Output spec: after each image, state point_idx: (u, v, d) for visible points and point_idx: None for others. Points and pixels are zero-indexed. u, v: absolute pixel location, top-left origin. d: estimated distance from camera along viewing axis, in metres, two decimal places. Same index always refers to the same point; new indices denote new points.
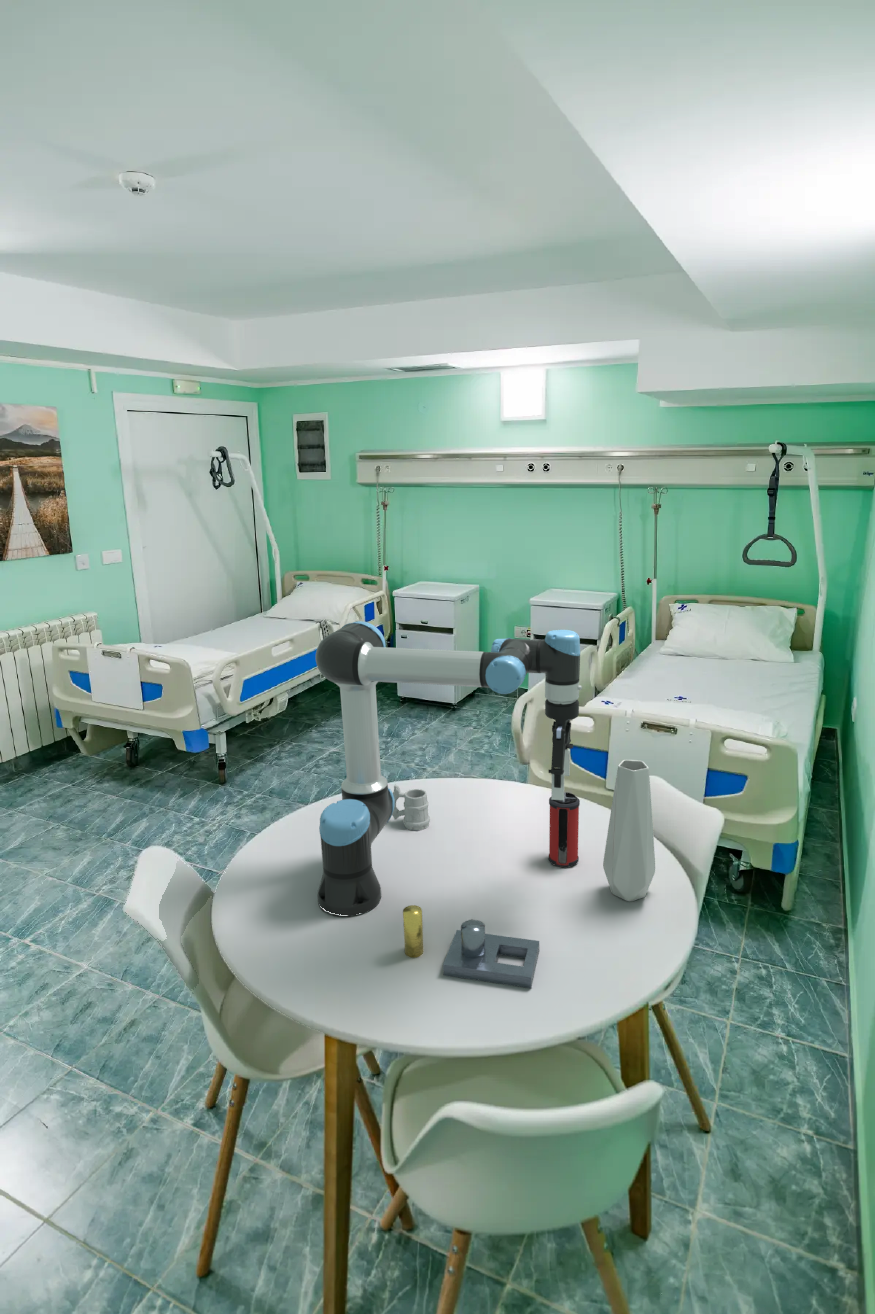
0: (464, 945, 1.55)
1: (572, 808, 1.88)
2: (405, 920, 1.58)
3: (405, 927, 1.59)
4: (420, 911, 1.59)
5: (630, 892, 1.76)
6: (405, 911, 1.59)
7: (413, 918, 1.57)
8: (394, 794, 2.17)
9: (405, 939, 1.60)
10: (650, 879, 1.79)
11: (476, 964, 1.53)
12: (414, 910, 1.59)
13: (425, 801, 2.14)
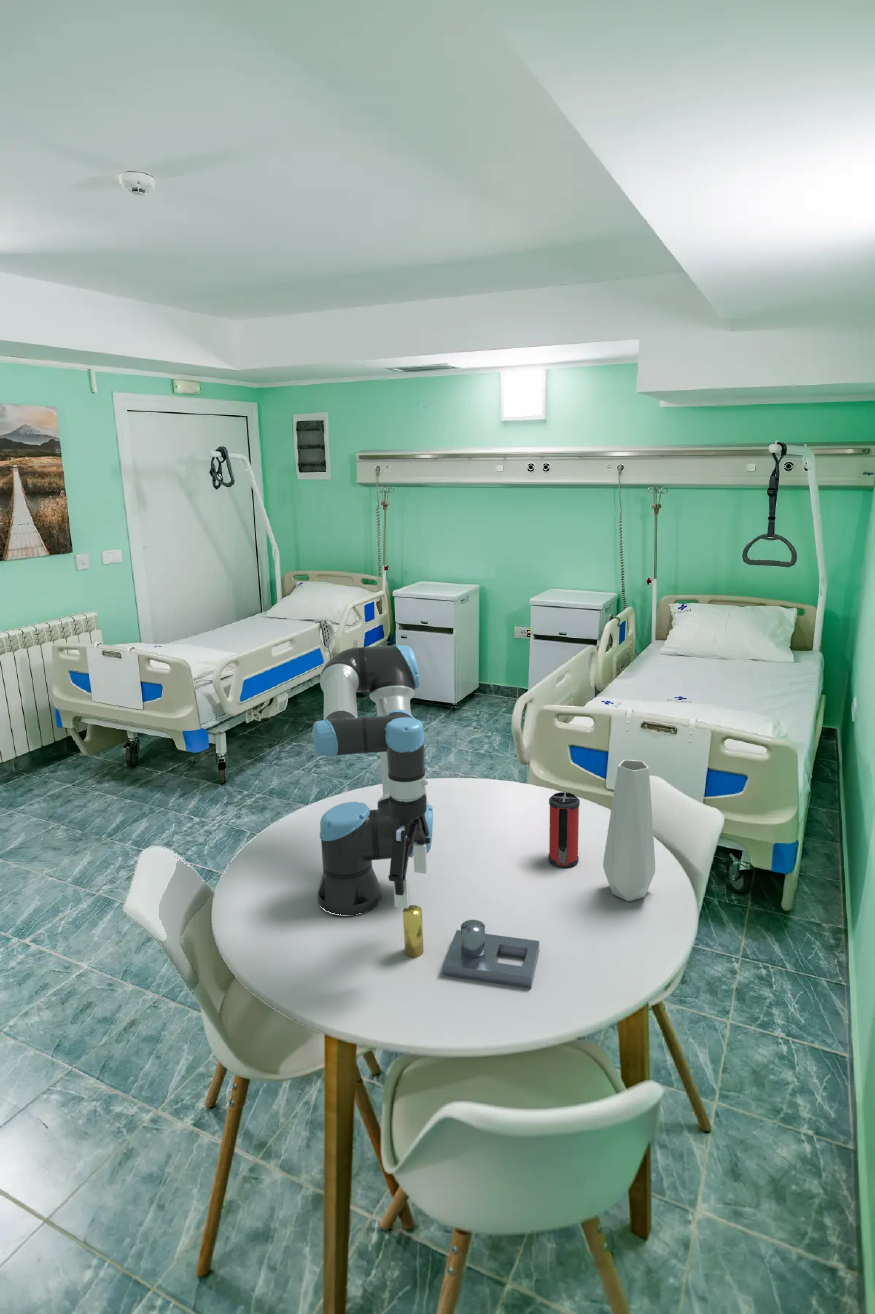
0: (464, 945, 1.55)
1: (572, 808, 1.88)
2: (405, 920, 1.58)
3: (405, 927, 1.59)
4: (420, 911, 1.59)
5: (630, 892, 1.76)
6: (405, 911, 1.59)
7: (413, 918, 1.57)
8: None
9: (405, 939, 1.60)
10: (650, 879, 1.79)
11: (476, 964, 1.53)
12: (414, 910, 1.59)
13: None
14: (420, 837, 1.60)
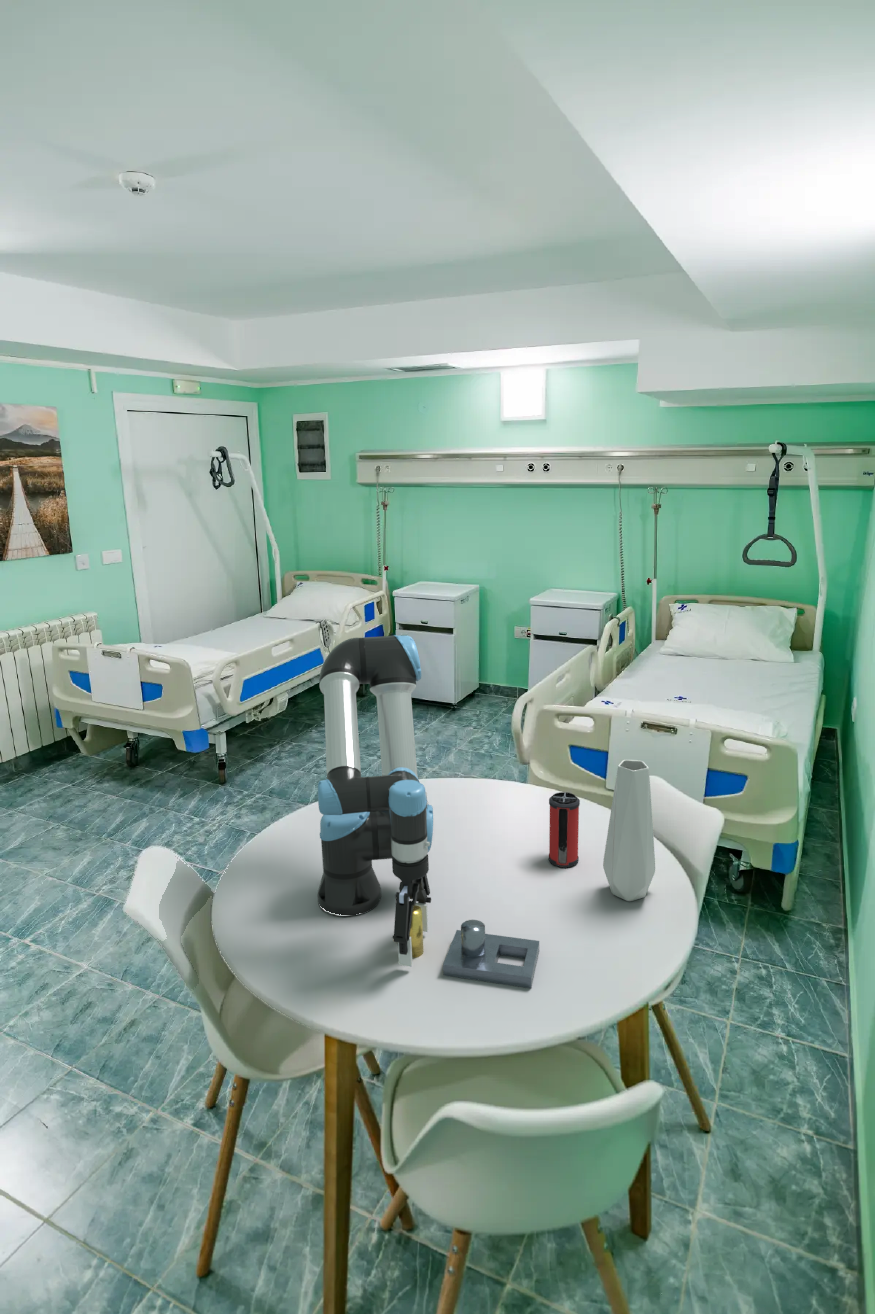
0: (464, 945, 1.55)
1: (572, 808, 1.88)
2: None
3: None
4: (420, 911, 1.59)
5: (630, 892, 1.76)
6: None
7: (413, 918, 1.57)
8: None
9: None
10: (650, 879, 1.79)
11: (476, 964, 1.53)
12: (414, 910, 1.59)
13: None
14: (421, 896, 1.63)
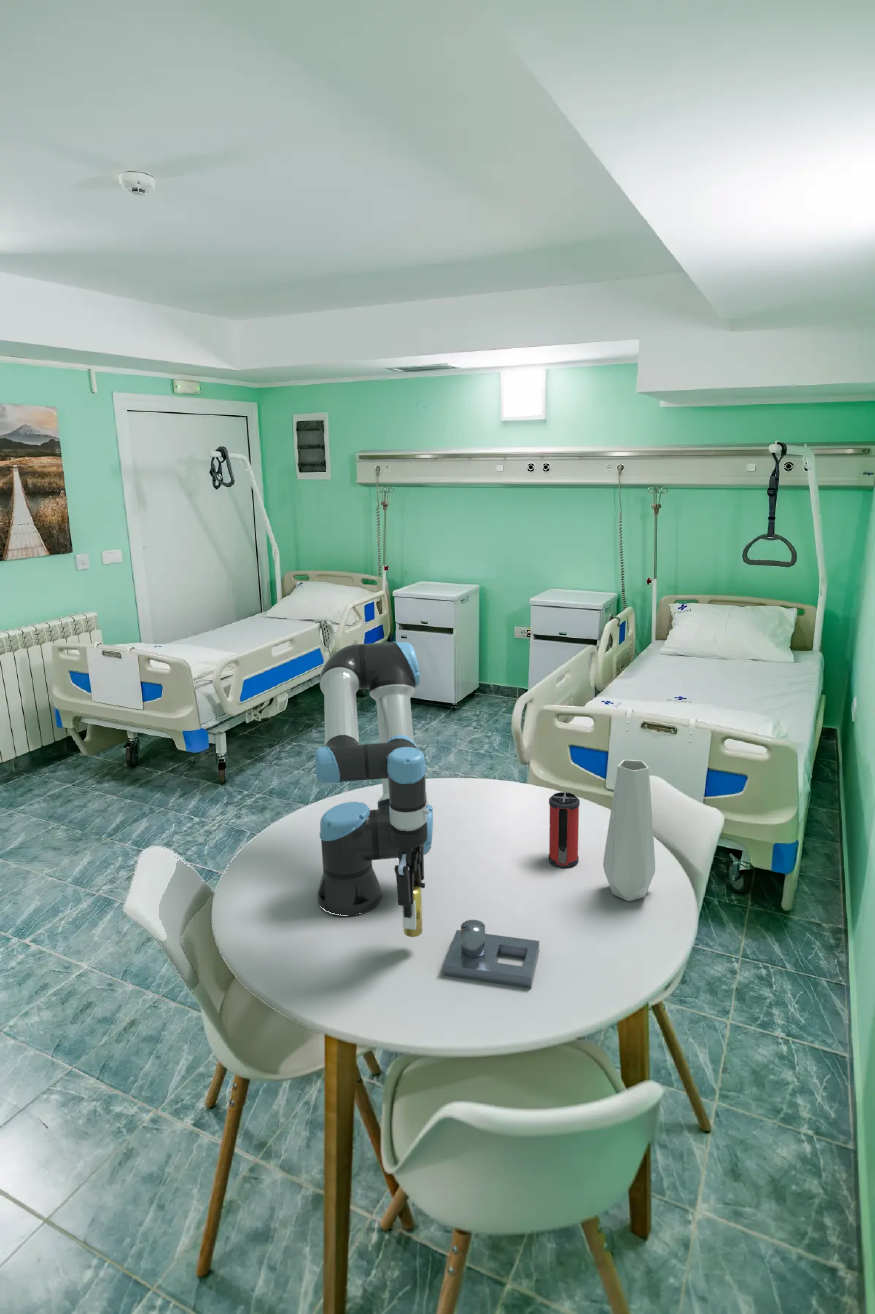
0: (464, 945, 1.55)
1: (572, 808, 1.88)
2: None
3: None
4: (419, 891, 1.58)
5: (630, 892, 1.76)
6: None
7: None
8: None
9: None
10: (650, 879, 1.79)
11: (476, 964, 1.53)
12: None
13: None
14: (416, 875, 1.59)
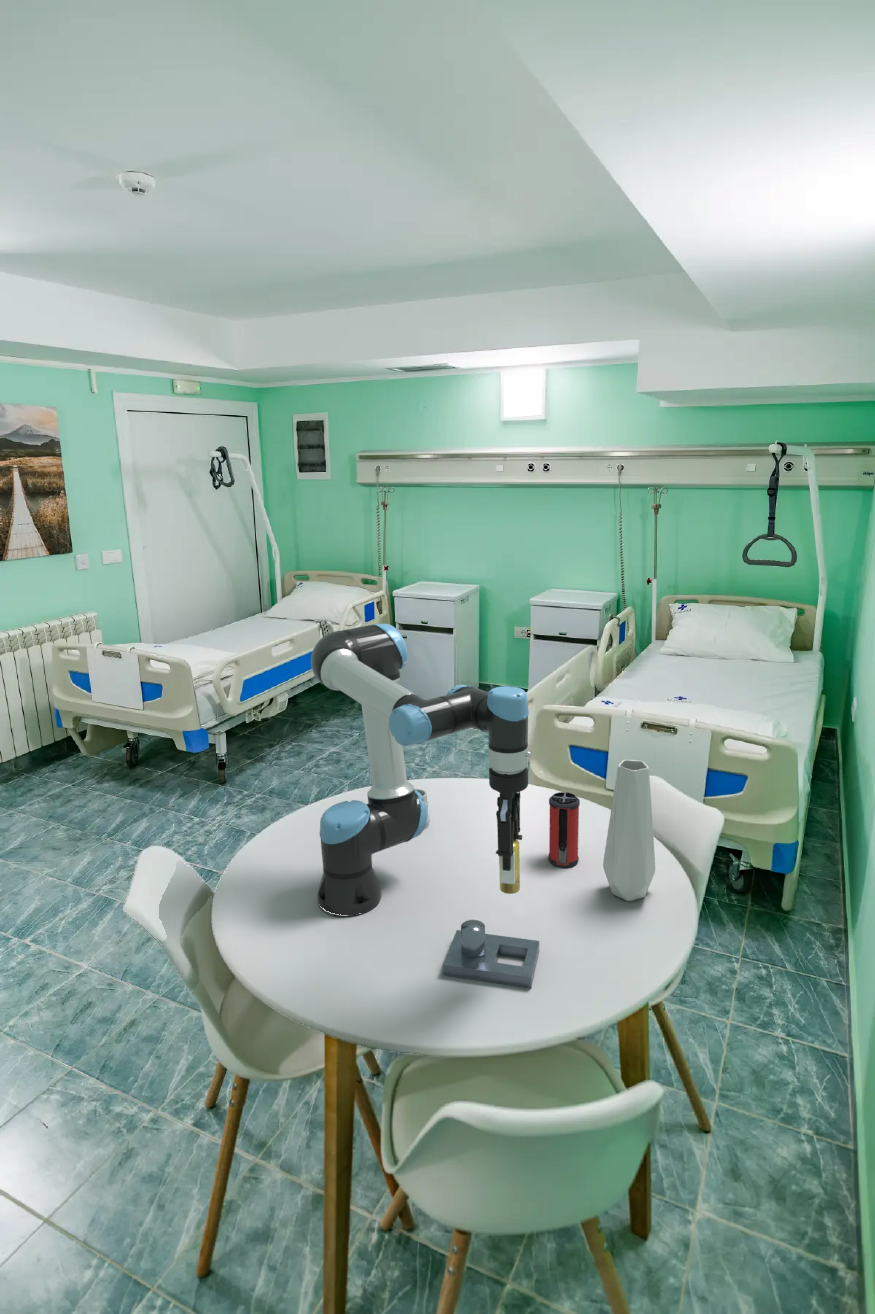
0: (464, 945, 1.55)
1: (572, 808, 1.89)
2: None
3: None
4: (517, 843, 1.49)
5: (630, 892, 1.76)
6: None
7: None
8: None
9: None
10: (650, 879, 1.79)
11: (476, 964, 1.53)
12: None
13: (425, 801, 2.14)
14: (514, 826, 1.50)
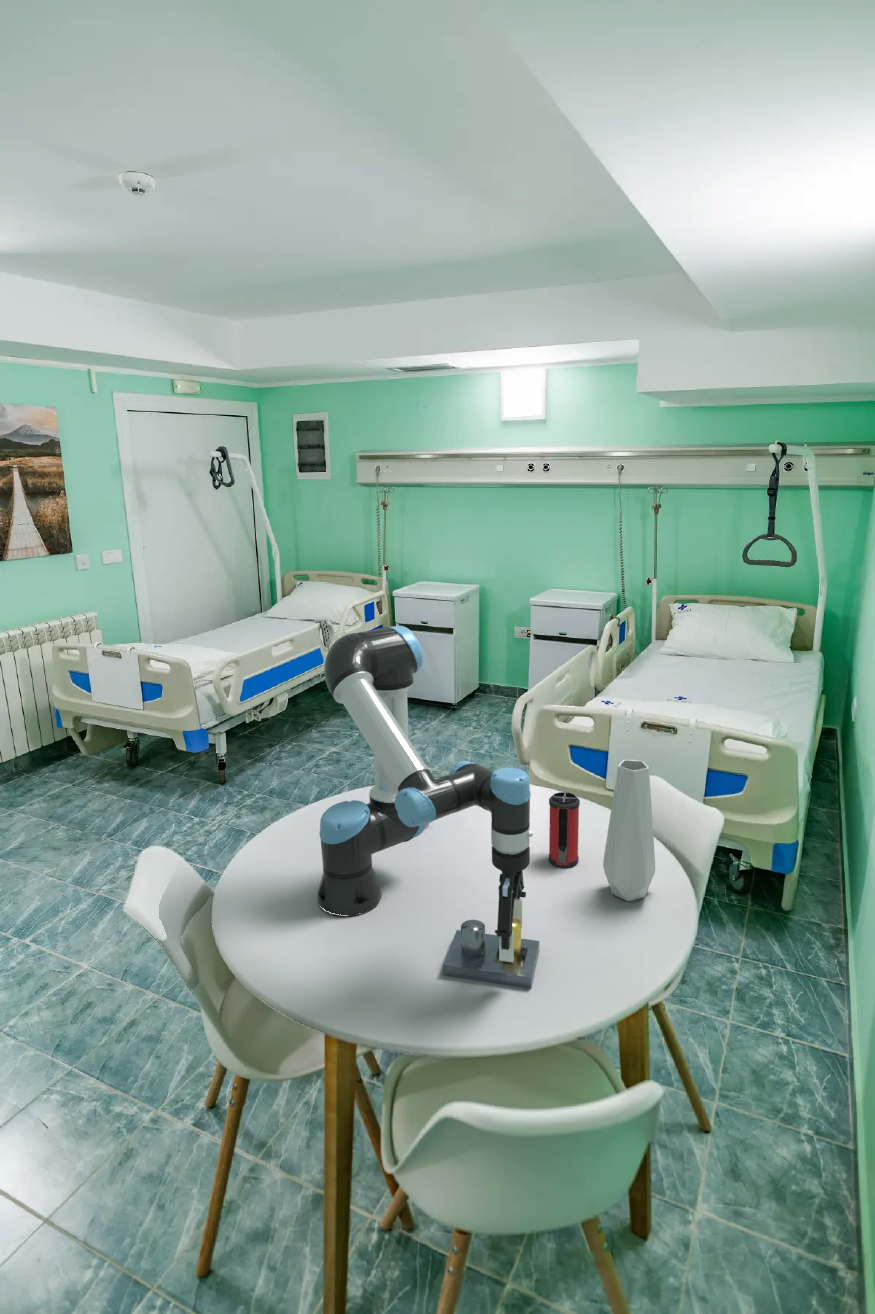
0: (464, 945, 1.55)
1: (572, 808, 1.88)
2: None
3: None
4: (519, 924, 1.53)
5: (630, 892, 1.76)
6: None
7: (513, 931, 1.52)
8: None
9: None
10: (650, 879, 1.79)
11: (476, 964, 1.53)
12: (513, 922, 1.54)
13: None
14: (517, 890, 1.56)
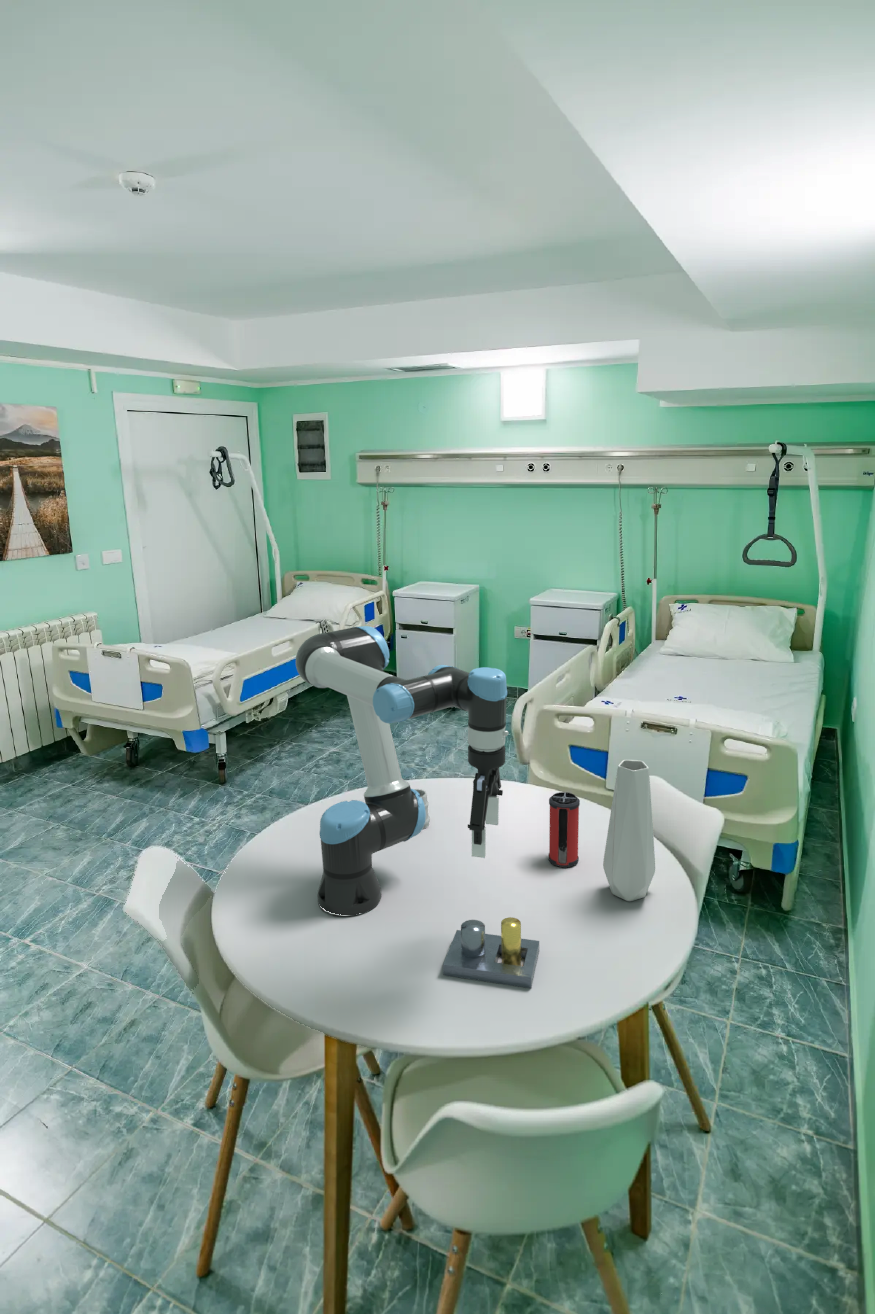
0: (464, 945, 1.55)
1: (572, 808, 1.88)
2: (504, 933, 1.53)
3: (503, 940, 1.53)
4: (519, 924, 1.53)
5: (630, 892, 1.76)
6: (503, 924, 1.53)
7: (513, 931, 1.52)
8: None
9: (503, 952, 1.54)
10: (650, 879, 1.79)
11: (476, 964, 1.53)
12: (513, 922, 1.54)
13: (425, 801, 2.14)
14: (494, 788, 1.59)
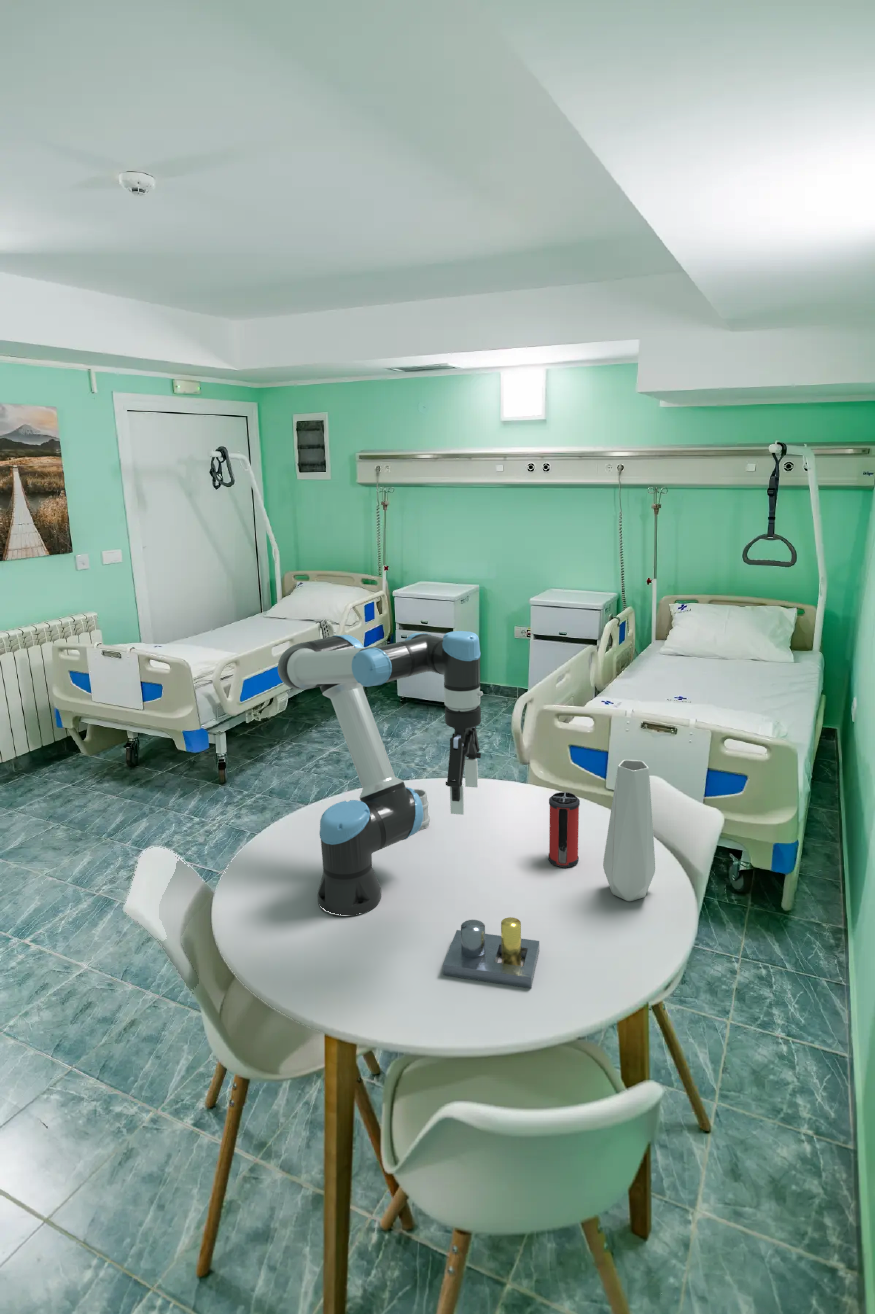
0: (464, 945, 1.55)
1: (572, 808, 1.88)
2: (504, 933, 1.53)
3: (503, 940, 1.53)
4: (519, 924, 1.53)
5: (630, 892, 1.76)
6: (503, 924, 1.53)
7: (513, 931, 1.52)
8: None
9: (503, 952, 1.54)
10: (650, 879, 1.79)
11: (476, 964, 1.53)
12: (513, 922, 1.54)
13: (425, 801, 2.14)
14: (472, 751, 1.65)
